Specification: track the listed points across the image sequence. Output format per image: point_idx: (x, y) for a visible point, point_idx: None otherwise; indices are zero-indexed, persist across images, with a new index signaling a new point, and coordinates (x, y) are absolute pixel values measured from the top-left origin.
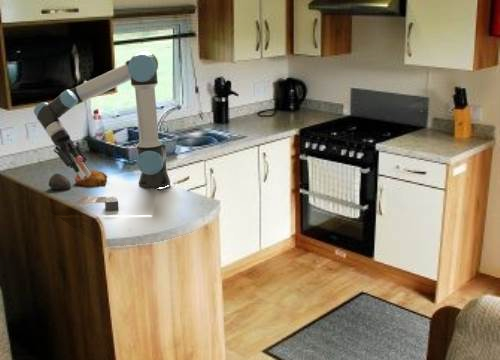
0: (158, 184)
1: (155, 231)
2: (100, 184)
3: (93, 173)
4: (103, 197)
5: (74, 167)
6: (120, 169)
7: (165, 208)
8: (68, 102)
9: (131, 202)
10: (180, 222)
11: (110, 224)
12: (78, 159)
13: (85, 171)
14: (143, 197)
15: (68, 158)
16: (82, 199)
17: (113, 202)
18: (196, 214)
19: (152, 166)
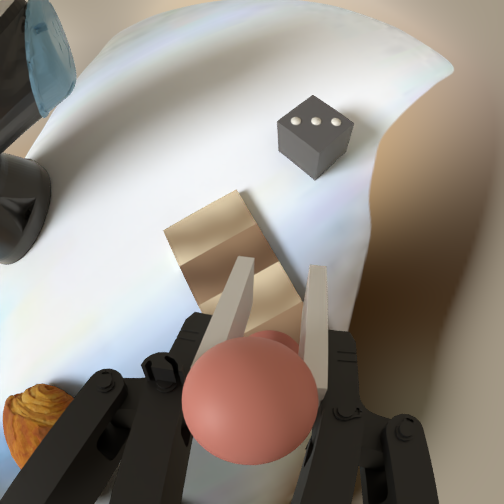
0: (34, 164)
1: (362, 16)
2: (63, 391)
3: (36, 433)
4: (194, 274)
5: (354, 384)
6: None
7: (202, 55)
8: None
9: (185, 153)
10: (282, 4)
11: (408, 95)
12: (309, 374)
13: (244, 315)
14: (119, 158)
15: (398, 499)
16: None
17: (328, 107)
18: (216, 8)
19: (65, 44)
